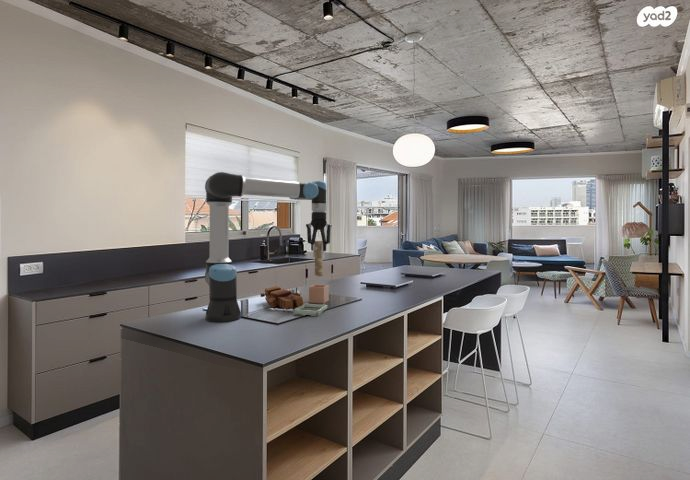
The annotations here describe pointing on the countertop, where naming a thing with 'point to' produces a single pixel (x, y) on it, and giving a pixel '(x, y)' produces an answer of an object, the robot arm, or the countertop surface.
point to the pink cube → (318, 293)
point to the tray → (310, 312)
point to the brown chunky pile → (282, 298)
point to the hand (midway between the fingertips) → (318, 257)
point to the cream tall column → (318, 258)
